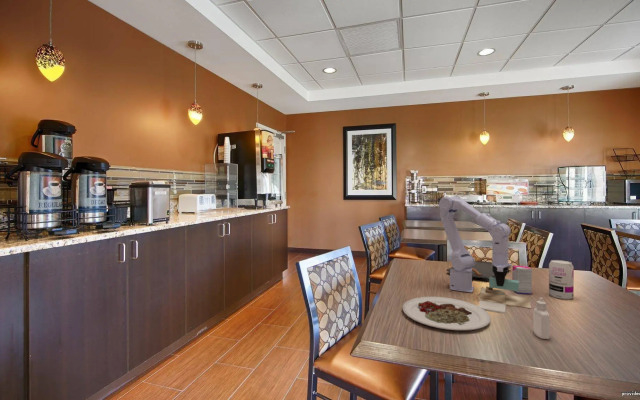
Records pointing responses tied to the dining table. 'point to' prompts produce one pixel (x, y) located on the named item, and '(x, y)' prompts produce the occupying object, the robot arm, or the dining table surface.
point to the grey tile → (492, 306)
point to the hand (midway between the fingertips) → (500, 284)
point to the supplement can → (561, 279)
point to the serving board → (482, 269)
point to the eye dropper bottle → (541, 320)
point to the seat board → (503, 298)
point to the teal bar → (505, 284)
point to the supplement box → (523, 279)
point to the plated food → (446, 313)
